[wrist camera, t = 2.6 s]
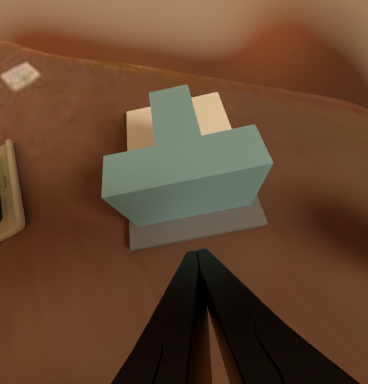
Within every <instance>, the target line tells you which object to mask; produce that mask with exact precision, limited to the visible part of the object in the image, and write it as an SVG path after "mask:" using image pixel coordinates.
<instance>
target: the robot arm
mask: <svg viewBox="0 0 368 384" xmlns="http://www.w3.org/2000/svg"><path fill="white" fill-rule="evenodd" d="M207 307H208V310H207ZM208 311H209V315H210V318H211V321H212V325H213V328H214V332H215V335H216V338H217V342H218V345H219V348H220V352H221V355H222V359H223V362H224V365H225V369H226V372H227V375H228V379H229V382H230V384H360V383H358V382H357V381H356V380H355V379H353V378H352V377H351V376H350V375H348V374H347V373H346V372H345V371H343V370H342V369H341V368H340V367H338V366H337V365H336V364H335V363H333V362H332V361H331V360H329V359H328V358H327V357H326V356H324V355H323V354H322V353H321V352H319V351H318V350H317V349H316V348H314V347H313V346H312V345H311V344H309V343H308V342H307V341H306V340H304V339H303V338H302V337H301V336H300V335H298V334H297V333H296V332H295V331H294V330H292V329H291V328H290V327H289V326H288V325H287V324H285V323H284V322H283V321H282V320H281V319H280V318H279V317H278V316H277V315H276V314H274V313H273V312H272V311H271V310H270V309H269V308H268V307H267V306H266V305H265V304H264V303H262V302H261V300H260V299H259V298H258V297H257V296H256V295H255V294H254V293H252V292H251V291H250V290H249V289H248V288H247V287H246V286H245V285H244V284H243V283H242V282H241V281H240V280H239V279H238V278H237V277H236V276H235V275H234V274H233V273H232V272H231V271H230V270H229V269H228V268H227V267H225V266H224V265H223V264H222V263H221V262H220V261H219V260H218V259H217V258H216V257H215V256H214V255H213V254H212V253H211V252H210V251H209V250H208V249H206V248H205V249H199V250H197V251H196V250H194V251H189V252H187V253H186V254H185V256H184V258H183V260H182V262H181V264H180V265H179V267H178V269H177V271H176V273H175V275H174V276H173V278H172V280H171V282H170V284H169V285H168V287H167V289H166V291H165V293H164V295H163V296H162V298H161V300H160V302H159V304H158V306H157V307H156V309H155V311H154V313H153V315H152V317H151V318H150V320H149V323H148V324H147V325H146V327H145V329H144V331H143V333H142V335H141V336H140V338H139V340H138V341H137V343H136V345H135V347H134V348H133V350H132V352H131V353H130V355H129V357H128V358H127V360H126V361H125V363H124V364H123V366H122V367H121V369H120V371H119V372H118V374H117V375H116V377H115V378H114V380H113V381H112V383H111V384H212V375H211V358H210V341H209V324H208Z"/></svg>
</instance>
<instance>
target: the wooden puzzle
mask: <svg viewBox="0 0 368 384" xmlns="http://www.w3.org/2000/svg"><path fill="white" fill-rule="evenodd" d="M25 224H26V222H25V215H24V209H23V203H22V197H21V190H20V184H19V178H18V171H17V165H16V158H15V152H14V145H13V141H11V140H10V139H7V140H6V141H5V144H4V145H3V146H1V147H0V242H1V241H3V240H5V239H7V238H9V237H11V236H12V235H14V234H16V233H18V232H20V231H21V230H22V229H24V227H25Z"/></svg>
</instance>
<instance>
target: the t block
mask: <svg viewBox="0 0 368 384" xmlns="http://www.w3.org/2000/svg"><path fill="white" fill-rule="evenodd" d="M149 98H150V106H151V115H152V124H153V133H154V141H155V145H154V146H149V147H145V148H140V149H135V150H130V151H126V152H121V153H116V154H111V155H107V156H104V157H103V176H102V196H101V198H102V199H103V200H105V201H106V202H107V203H108V204H110V205H111V206H112V207H113V208H115V209H116V210H117V211H119V212H120V213H121V214H122V215H124V216H125V217H126V218H127V219H129V220H130V221H131V222H133V223H134V224H135V225H136V226H138V227H139V226H144V225H149V224H154V223H160V222H165V221H170V220H175V219H180V218H185V217H190V216H196V215H201V214H206V213H211V212H216V211H221V210H226V209H232V208H237V207H242V206H247V205H251V204H252V202H253V200H254V198H255V196H256V195H257V193H258V191H259V189H260V187H261V185H262V183H263V182H264V180H265V178H266V176H267V174H268V172H269V170H270V169H271V167H272V165H273V161H272V159H271V157H270V155H269V153H268V151H267V149H266V146H265V144H264V142H263V140H262V138H261V136H260V134H259V132H258V129H257V127H256V125H255V124H254V125H249V126H244V127H240V128H235V129H230V130H225V131H221V132H216V133H211V134H206V135H201V132H200V128H199V124H198V121H197V117H196V113H195V110H194V106H193V102H192V99H191V95H190V91H189V88H188V84H187V85H182V86H178V87H173V88H169V89H164V90H160V91H155V92H151V93H149Z"/></svg>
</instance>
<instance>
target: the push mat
mask: <svg viewBox="0 0 368 384" xmlns="http://www.w3.org/2000/svg"><path fill="white" fill-rule="evenodd" d="M191 99H192V102H193V106H194V110H195V113H196V117H197V121H198V124H199V128H200V132H201V135H206V134H211V133H216V132H221V131H225V130H230V129H232V128H231V126H230V123H229V121H228V118H227V115H226V113H225V110H224V108H223V105H222V102H221V100H220V97H219V94H218V92H215V93H211V94H206V95H201V96H197V97H192V98H191ZM154 145H155V141H154V133H153V124H152V115H151V107H147V108H142V109H137V110H133V111H128V112H127V151H130V150H135V149H140V148H145V147H149V146H154ZM267 224H268V223H267V220H266V217H265V215H264V212H263V210H262V207H261V204H260V202H259V199H258V197H257V195H256V196H255V198H254V200H253V202H252V204H251V205H247V206H242V207H237V208H232V209H226V210H221V211H216V212H211V213H206V214H201V215H196V216H190V217H185V218H180V219H175V220H170V221H165V222H160V223H154V224H149V225H144V226H139V227H138V226H136V225H135V224H134V223H133V222H131V221H130V220H129V233H130V250H131V251H135V250H141V249H146V248H151V247H156V246H162V245H167V244H172V243H177V242H183V241H188V240H193V239H198V238H204V237H209V236H214V235H220V234H225V233H230V232H235V231H241V230H246V229H251V228H256V227H262V226H266V225H267Z"/></svg>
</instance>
